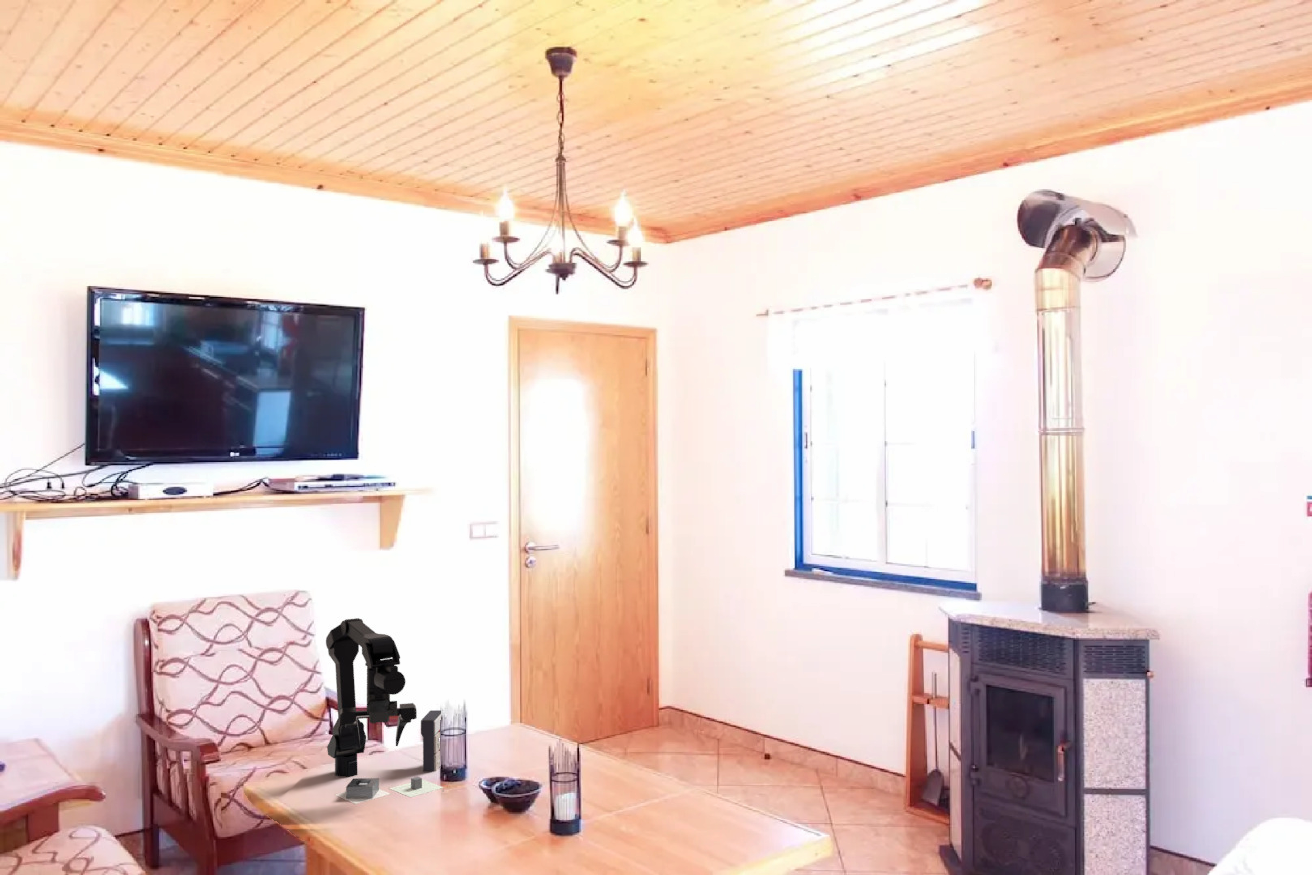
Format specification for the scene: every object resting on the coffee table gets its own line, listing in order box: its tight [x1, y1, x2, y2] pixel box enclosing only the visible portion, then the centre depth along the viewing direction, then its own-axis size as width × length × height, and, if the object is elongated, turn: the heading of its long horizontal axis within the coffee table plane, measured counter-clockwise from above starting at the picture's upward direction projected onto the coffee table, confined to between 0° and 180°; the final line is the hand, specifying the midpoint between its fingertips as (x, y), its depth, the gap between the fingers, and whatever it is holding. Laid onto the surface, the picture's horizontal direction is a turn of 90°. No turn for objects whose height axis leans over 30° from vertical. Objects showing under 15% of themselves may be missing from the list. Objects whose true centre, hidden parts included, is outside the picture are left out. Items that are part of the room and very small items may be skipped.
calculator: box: [420, 709, 441, 773], centre depth 282 cm, size 11×4×15 cm, turn 179°
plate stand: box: [335, 783, 391, 805], centre depth 258 cm, size 10×10×4 cm
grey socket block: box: [345, 777, 380, 799], centre depth 258 cm, size 7×7×3 cm
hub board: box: [388, 776, 445, 798], centre depth 263 cm, size 10×10×4 cm
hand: (378, 747), depth 258 cm, fingers open, 9 cm apart
